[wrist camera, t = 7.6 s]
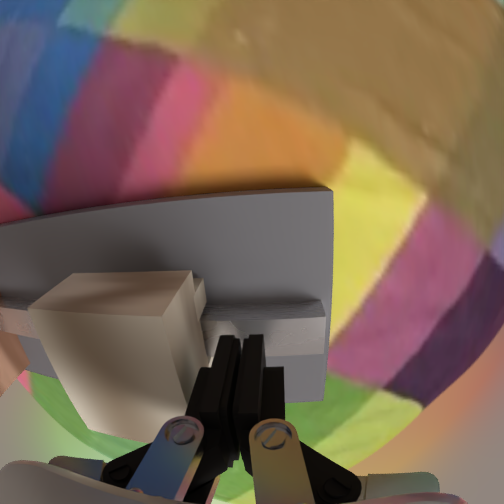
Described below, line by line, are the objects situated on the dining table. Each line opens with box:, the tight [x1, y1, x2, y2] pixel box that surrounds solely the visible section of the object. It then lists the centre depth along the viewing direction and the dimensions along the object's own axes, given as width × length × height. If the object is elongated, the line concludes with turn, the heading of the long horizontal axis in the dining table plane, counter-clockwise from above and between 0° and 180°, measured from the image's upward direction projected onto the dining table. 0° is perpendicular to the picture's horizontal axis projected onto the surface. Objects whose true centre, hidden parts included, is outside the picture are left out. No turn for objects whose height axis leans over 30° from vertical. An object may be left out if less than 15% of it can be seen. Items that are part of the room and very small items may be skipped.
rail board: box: [0, 187, 334, 403], centre depth 13 cm, size 26×12×6 cm, turn 94°
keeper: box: [27, 270, 214, 443], centre depth 12 cm, size 6×7×5 cm
